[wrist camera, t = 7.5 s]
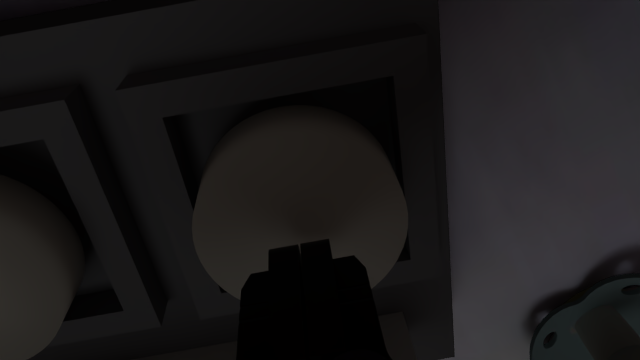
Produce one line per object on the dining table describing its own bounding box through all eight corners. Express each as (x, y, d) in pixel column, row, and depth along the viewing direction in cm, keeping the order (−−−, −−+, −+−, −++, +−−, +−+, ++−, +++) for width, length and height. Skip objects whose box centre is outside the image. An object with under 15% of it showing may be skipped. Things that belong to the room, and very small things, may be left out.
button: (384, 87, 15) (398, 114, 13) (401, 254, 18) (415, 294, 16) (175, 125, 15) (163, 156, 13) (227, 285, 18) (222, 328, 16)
